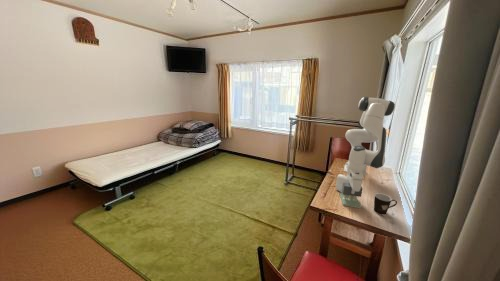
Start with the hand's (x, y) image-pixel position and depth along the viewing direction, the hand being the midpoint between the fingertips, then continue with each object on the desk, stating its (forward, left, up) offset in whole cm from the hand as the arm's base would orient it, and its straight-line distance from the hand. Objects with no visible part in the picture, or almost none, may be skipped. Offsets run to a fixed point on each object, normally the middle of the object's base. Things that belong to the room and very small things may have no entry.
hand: (351, 190), depth 128 cm
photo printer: (-12, -3, -8) cm, 14 cm away
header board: (0, 0, -8) cm, 8 cm away
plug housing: (0, 0, -2) cm, 2 cm away
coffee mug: (+8, +17, -8) cm, 20 cm away
